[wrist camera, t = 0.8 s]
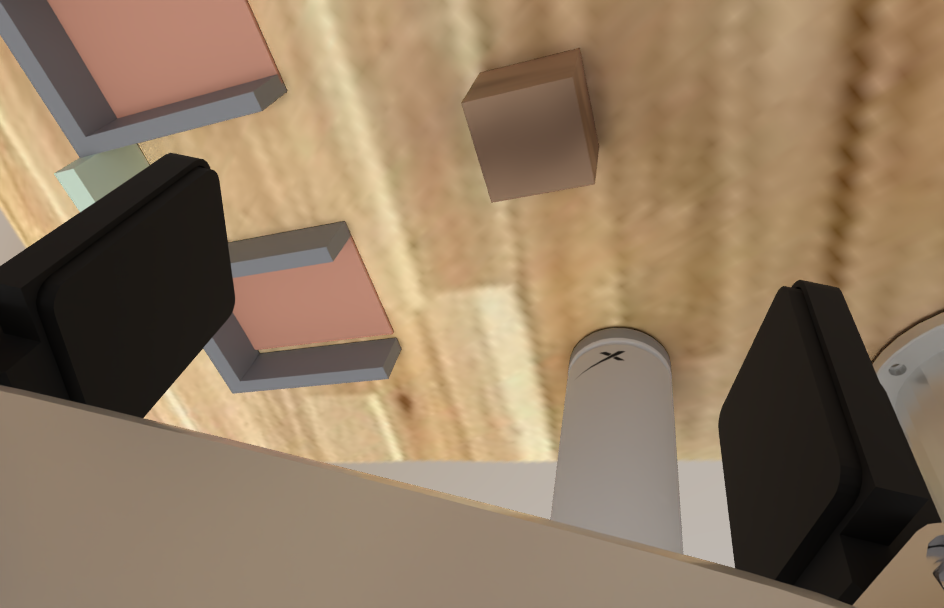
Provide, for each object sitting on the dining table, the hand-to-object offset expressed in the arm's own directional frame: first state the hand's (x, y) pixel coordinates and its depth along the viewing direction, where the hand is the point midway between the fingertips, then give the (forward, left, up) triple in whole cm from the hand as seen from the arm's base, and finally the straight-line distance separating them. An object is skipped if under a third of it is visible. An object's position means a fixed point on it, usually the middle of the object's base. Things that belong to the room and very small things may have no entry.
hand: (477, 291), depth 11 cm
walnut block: (-5, +3, -24) cm, 24 cm away
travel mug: (-22, +2, -24) cm, 32 cm away
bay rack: (-5, +22, -24) cm, 32 cm away
